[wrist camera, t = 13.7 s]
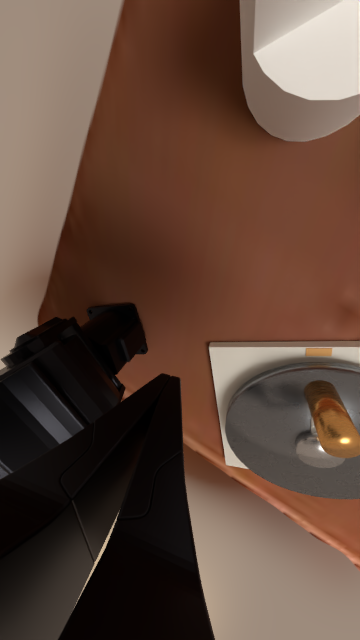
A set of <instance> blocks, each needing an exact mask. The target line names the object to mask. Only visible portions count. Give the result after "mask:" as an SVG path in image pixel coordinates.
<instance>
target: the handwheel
mask: <svg viewBox="0 0 360 640" xmlns="http://www.w3.org/2000/svg"><path fill="white" fill-rule="evenodd" d="M225 433H226V438H227V441H228V444H229V446H230V448H231V450H232V451H233V452H234V454H235V455H236V457H237V458H238V459H239V460H240V461H241V462H242V463H243V464H244V465H245V466H246V467H247V468H249V469H250V470H251V471H253V472H254V473H255V474H257V475H259V476H260V477H262V478H263V479H265V480H267V481H269V482H271V483H273V484H276V485H278V486H280V487H283V488H286V489H289V490H291V491H295V492H298V493H302V494H306V495H311V496H317V497H323V498H333V499H360V367H357V366H353V365H348V364H342V363H334V362H301V363H294V364H288V365H284V366H280V367H276V368H273V369H270V370H267V371H265V372H262V373H260V374H258V375H256V376H254V377H252V378H251V379H250V380H248V381H247V382H245V383H244V384H243V385H242V386H241V387H240V388H239V389H238V390H237V391H236V392H235V393H234V395H233V396H232V398H231V400H230V402H229V404H228V408H227V413H226V423H225Z"/></svg>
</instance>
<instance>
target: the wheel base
mask: <svg viewBox="0 0 360 640" xmlns="http://www.w3.org/2000/svg"><path fill="white" fill-rule="evenodd" d="M209 352H210V359H211V365H212V372H213V379H214V386H215V392H216V399H217V406H218V413H219V419H220V426H221V433H222V440H223V446H224V453H225V460H226V465H230V466H235V467H241V468H246V469H249V468H247V467H246V466H245V465H244V464H243V463H242V462H241V461H240V460H239V459H238V458H237V457H236V455H235V454H234V452H233V451H232V450H231V448H230V446H229V444H228V441H227V438H226V433H225V423H226V413H227V408H228V404H229V402H230V400H231V398H232V396H233V395H234V393H235V392H236V391H237V390H238V389H239V388H240V387H241V386H242V385H243V384H244V383H245V382H247V381H248V380H250V379H251V378H252V377H254V376H256V375H258V374H260V373H262V372H265V371H267V370H270V369H273V368H276V367H280V366H284V365H288V364H294V363H301V362H334V363H342V364H348V365H353V366H357V367H360V341H294V342H210V345H209Z"/></svg>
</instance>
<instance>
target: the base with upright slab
mask: <svg viewBox="0 0 360 640" xmlns="http://www.w3.org/2000/svg"><path fill="white" fill-rule="evenodd" d="M240 25H241V54H242V83H243V89H244V93H245V97H246V101H247V105H248V108H249V109H250V111H251V113H252V115H253V116H254V118H255V120H256V121H257V123H258V124H259V125H260V126H261V127H262V128H263V129H265V130H266V131H267V132H268V133H269V134H270V135H272V136H275V137H277V138H280V139H283V140H285V141H299V142H306V141H310V140H314V139H318V138H321V137H325V136H328V135H329V134H331V133H333V132H335V131H337V130H339V129H341V128H342V127H344V126H346V125H348V124H349V123H350V122H352V121H353V120H354V119H355V118H356V117H358V116H359V115H360V0H240Z"/></svg>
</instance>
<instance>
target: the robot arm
mask: <svg viewBox="0 0 360 640" xmlns="http://www.w3.org/2000/svg"><path fill="white" fill-rule="evenodd" d="M130 307H131V308H132V310H131V309H130ZM91 311H92V312H91ZM87 313H88V316H89V318H90V321H89V322H87V323H86V324H84V325H83V326H81V327H80V326H79V325H78V323H77V320H76V319H75V317H72V318H70V319H68V320H67V319H66V318H65V319H60V318H58V317H55V318H53V319H51V320H49V321H48V322H46V323H44V324H42V325H40V326H38V327H36V328H34V329H32V330H30V331H29V332H27V333H25V334H23V335H21V336H19V337H17V339H16V343H15V347H14V348H13V349H12V350H10V352H11V353H10V354H8V355H7V356H5V357H4V358H2V359H1V360H2V362H3V363H4V364H5V365H6V367H5V368H3V369H1V370H0V640H215V638H214V634H213V630H212V626H211V622H210V618H209V614H208V610H207V606H206V602H205V598H204V593H203V589H202V584H201V580H200V574H199V568H198V563H197V557H196V551H195V545H194V538H193V532H192V526H191V519H190V513H189V508H188V501H187V493H186V485H185V476H184V457H183V456H184V455H183V431H182V405H181V380H180V378H179V377H175V376H170V375H168V374H164V373H162V374H160V375H159V376H157V377H156V378H154V379H153V380H151V381H150V382H149V383H147V384H146V385H144V386H143V387H142V388H140V389H139V390H137V391H136V392H135V393H133V394H132V395H130V396H129V397H128V398H126V399H125V400H123V401H122V402H121V399H122V397H123V394H124V391H125V386H124V385H123V384H121V383H120V381H119V380H118V378H117V377H116V376H115V375H117V374H118V373H119V371H120V370H121V369H122V368H123V366H124V365H125V364H126V363H127V362H130V361H131V359H132V358H133V357H134V355H135V354H146V353H147V351H148V348H147V344H146V338H145V335H144V331H143V328H142V324H141V322H140V320H139V316H138V313H137V310H136V307H135V305H134V304H121V305H108V306H96V307H90V308H88V309H87ZM143 349H144V350H145V351H144V350H143ZM120 402H121V403H120ZM119 510H120V511H119ZM118 512H119V514H118ZM117 514H118V517H117V521H116V523H115V525H114V528H113V531H112V533H111V536H110V539H109V541H108V543H107V546H106V548H105V550H104V552H103V554H102V556H101V558H100V560H99V562H98V564H97V566H96V568H95V569H94V572H93V573H92V575H91V577H90V579H89V581H88V583H87V585H86V587H85V589H84V590H83V592H82V594H81V596H80V593H81V591H82V589H83V587H84V585H85V583H86V581H87V578H88V576H89V574H90V572H91V570H92V568H93V566H94V562H95V561H96V559H97V557H98V555H99V553H100V551H101V548H102V546H103V544H104V542H105V540H106V538H107V536H108V534H109V531H110V529H111V527H112V525H113V523H114V521H115V519H116V516H117ZM79 596H80V598H79ZM78 598H79V600H78ZM77 600H78V602H77ZM76 602H77V604H76ZM75 604H76V606H75ZM74 606H75V608H74ZM73 608H74V610H73Z"/></svg>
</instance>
